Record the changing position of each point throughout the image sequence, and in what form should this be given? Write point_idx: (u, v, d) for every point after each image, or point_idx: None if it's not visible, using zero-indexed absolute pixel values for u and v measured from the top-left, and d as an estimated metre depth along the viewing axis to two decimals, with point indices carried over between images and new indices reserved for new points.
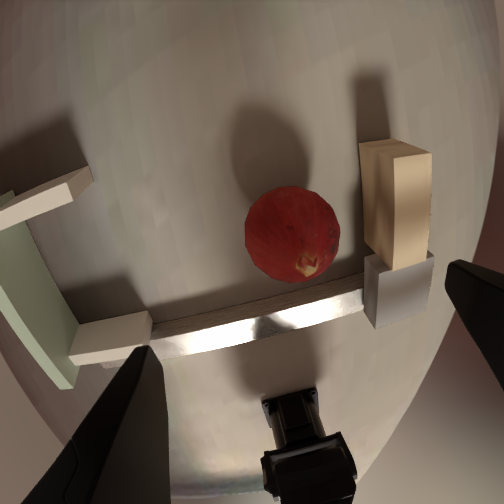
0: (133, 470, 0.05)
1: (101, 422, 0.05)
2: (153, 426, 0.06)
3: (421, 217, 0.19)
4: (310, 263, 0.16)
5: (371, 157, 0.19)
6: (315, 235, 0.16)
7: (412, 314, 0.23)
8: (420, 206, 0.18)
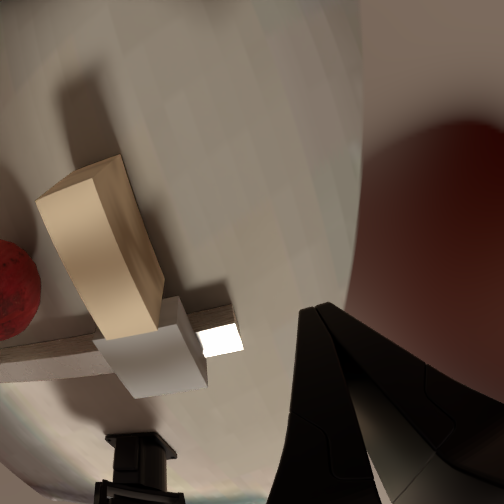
0: None
1: (322, 383, 0.05)
2: None
3: (113, 274, 0.13)
4: None
5: None
6: None
7: (185, 390, 0.18)
8: (103, 259, 0.13)
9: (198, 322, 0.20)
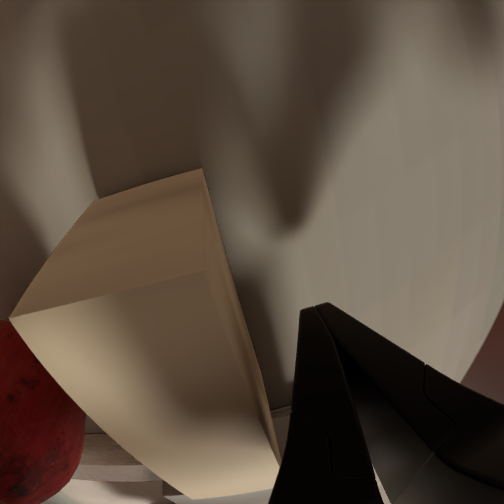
0: None
1: (324, 382, 0.05)
2: None
3: (232, 448, 0.06)
4: None
5: None
6: None
7: None
8: (214, 433, 0.05)
9: None
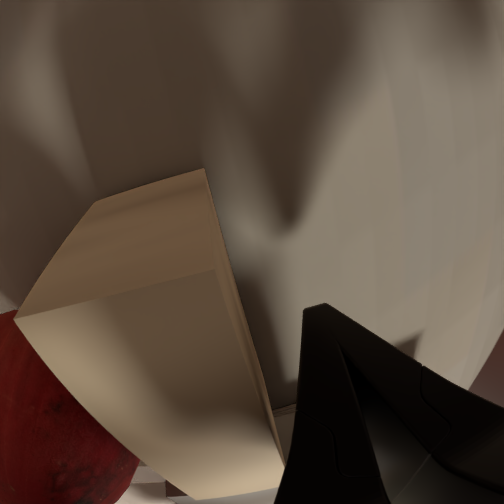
0: None
1: (328, 381, 0.05)
2: None
3: (237, 447, 0.06)
4: None
5: None
6: (11, 488, 0.03)
7: None
8: (220, 432, 0.05)
9: None
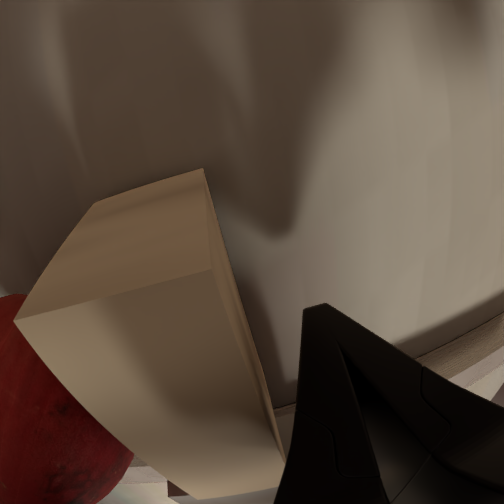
0: None
1: (328, 381, 0.05)
2: None
3: (238, 446, 0.06)
4: None
5: None
6: (1, 485, 0.03)
7: None
8: (220, 431, 0.05)
9: (492, 337, 0.13)
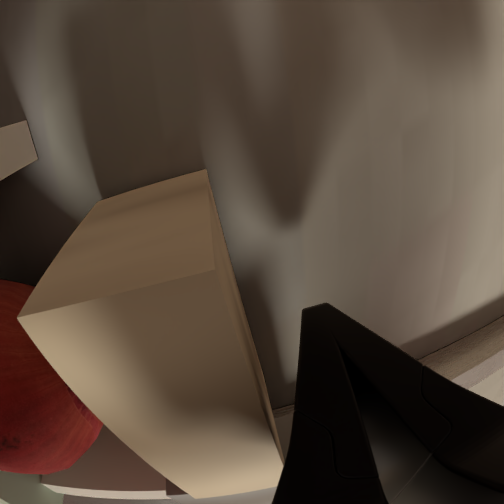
0: None
1: (326, 382, 0.05)
2: None
3: (237, 445, 0.06)
4: None
5: None
6: None
7: None
8: (220, 430, 0.05)
9: None
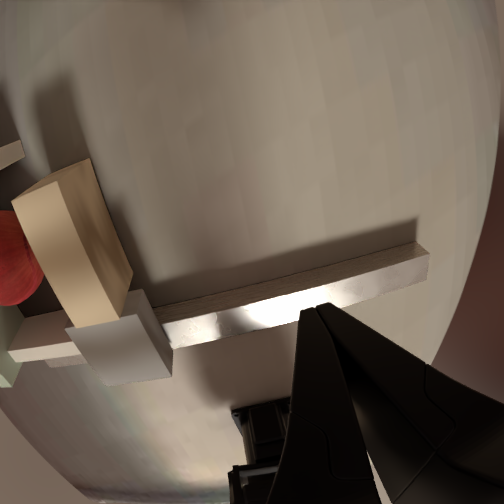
0: None
1: (322, 383, 0.05)
2: None
3: (78, 266, 0.14)
4: None
5: None
6: None
7: (151, 378, 0.19)
8: (69, 253, 0.14)
9: (398, 255, 0.21)
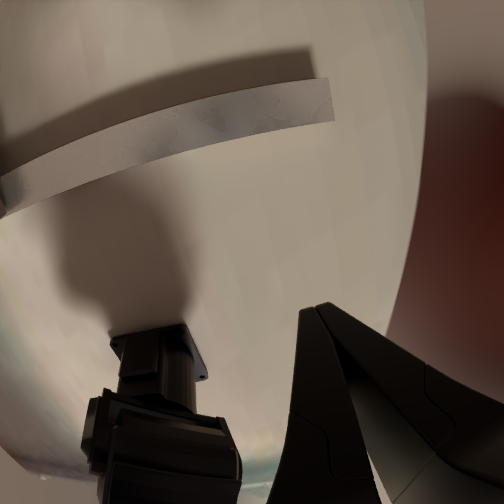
0: None
1: (322, 383, 0.05)
2: None
3: None
4: None
5: None
6: None
7: None
8: None
9: None
